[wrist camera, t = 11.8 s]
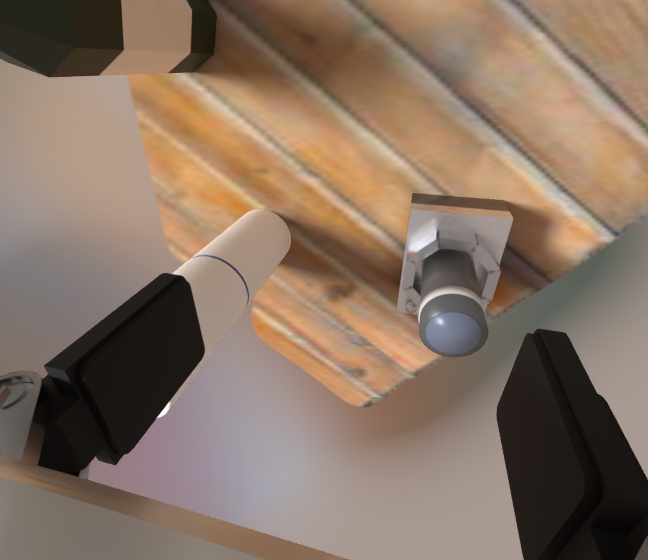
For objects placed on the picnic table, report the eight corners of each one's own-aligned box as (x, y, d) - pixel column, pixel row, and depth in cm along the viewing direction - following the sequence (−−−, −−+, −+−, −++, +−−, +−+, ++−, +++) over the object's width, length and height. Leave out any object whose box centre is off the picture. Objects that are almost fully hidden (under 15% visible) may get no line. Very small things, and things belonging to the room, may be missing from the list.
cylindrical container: (297, 221, 42) (172, 370, 22) (284, 268, 46) (168, 431, 26) (243, 200, 43) (70, 327, 22) (235, 248, 47) (81, 394, 26)
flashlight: (410, 274, 37) (404, 335, 28) (444, 237, 34) (448, 293, 25) (451, 300, 37) (456, 369, 29) (487, 266, 34) (506, 331, 26)
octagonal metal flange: (412, 193, 37) (409, 216, 31) (503, 200, 35) (518, 227, 30) (399, 287, 44) (394, 322, 38) (476, 298, 42) (483, 336, 36)
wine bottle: (158, -57, 32) (-824, -492, 7) (232, 12, 33) (-368, -145, 8) (131, 33, 36) (-517, -32, 11) (197, 90, 37) (-257, 143, 13)
